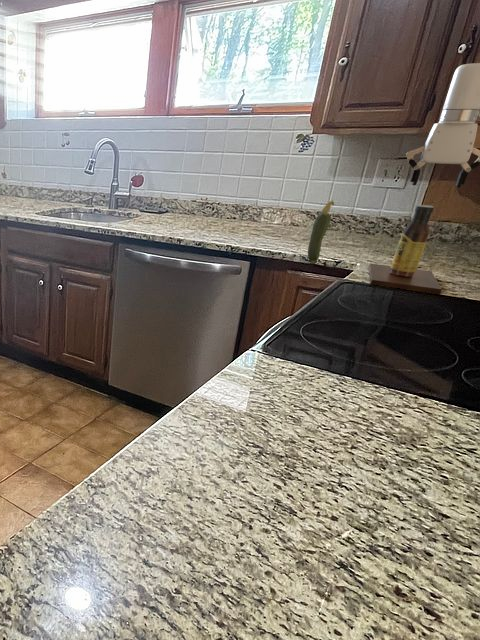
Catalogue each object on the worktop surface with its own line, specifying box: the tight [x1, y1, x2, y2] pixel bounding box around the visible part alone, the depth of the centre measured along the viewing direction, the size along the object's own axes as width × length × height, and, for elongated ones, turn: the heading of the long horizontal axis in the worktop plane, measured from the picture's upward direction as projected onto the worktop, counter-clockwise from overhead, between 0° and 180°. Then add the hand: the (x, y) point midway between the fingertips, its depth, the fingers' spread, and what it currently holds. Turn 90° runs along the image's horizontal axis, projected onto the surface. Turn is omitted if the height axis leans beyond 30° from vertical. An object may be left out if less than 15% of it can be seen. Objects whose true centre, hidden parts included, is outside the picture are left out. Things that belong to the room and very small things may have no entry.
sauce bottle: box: [390, 204, 435, 277], centre depth 150 cm, size 6×6×20 cm
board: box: [367, 263, 443, 295], centre depth 155 cm, size 16×24×2 cm, turn 148°
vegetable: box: [307, 200, 335, 265], centre depth 168 cm, size 4×4×20 cm
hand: (435, 186), depth 144 cm, fingers open, 9 cm apart
